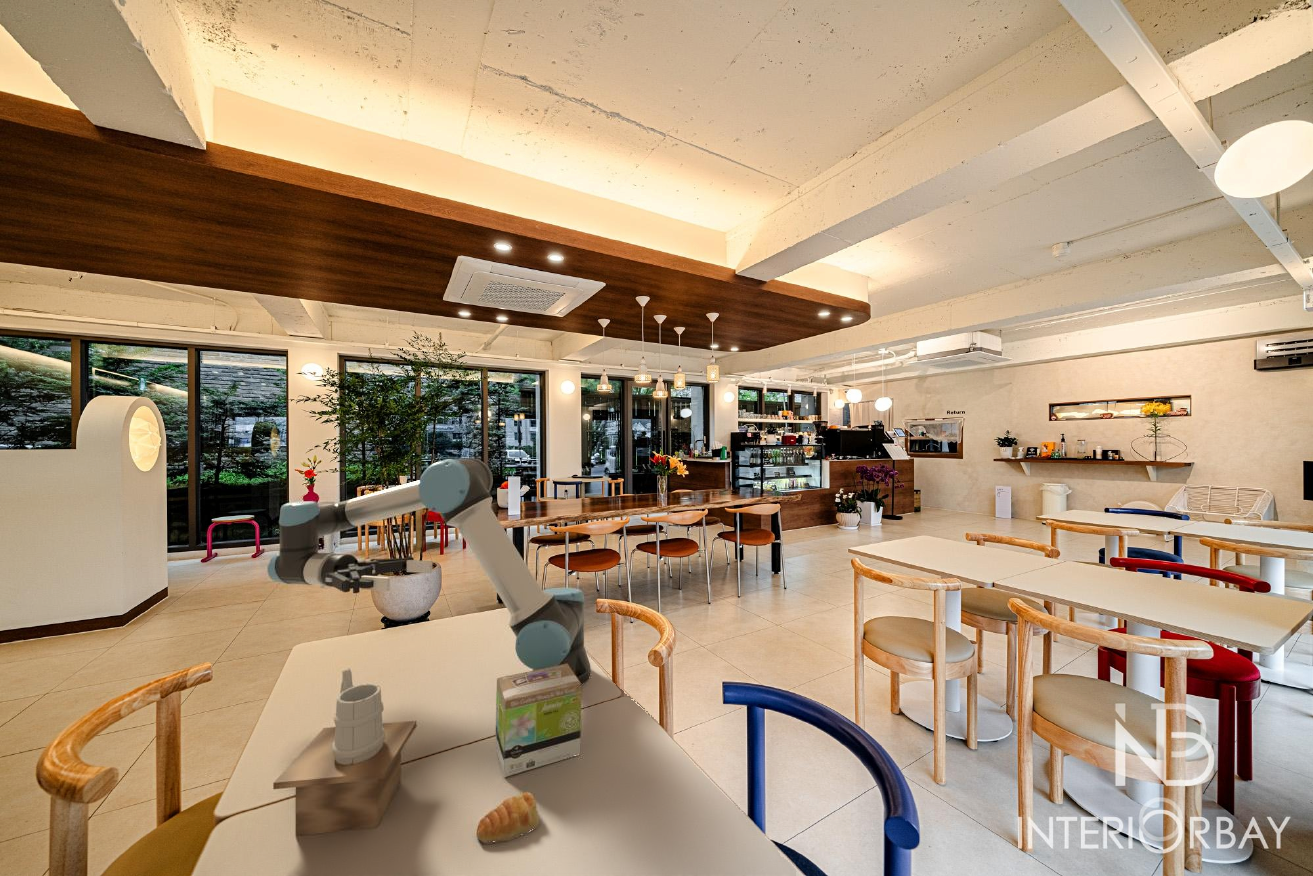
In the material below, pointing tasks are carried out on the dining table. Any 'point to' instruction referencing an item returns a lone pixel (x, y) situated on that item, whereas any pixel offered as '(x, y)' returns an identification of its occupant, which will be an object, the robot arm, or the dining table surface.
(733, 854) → the dining table surface
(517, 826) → the pastry
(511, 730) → the tea box
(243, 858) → the dining table surface
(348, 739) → the mug
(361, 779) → the walnut stand
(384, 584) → the robot arm
